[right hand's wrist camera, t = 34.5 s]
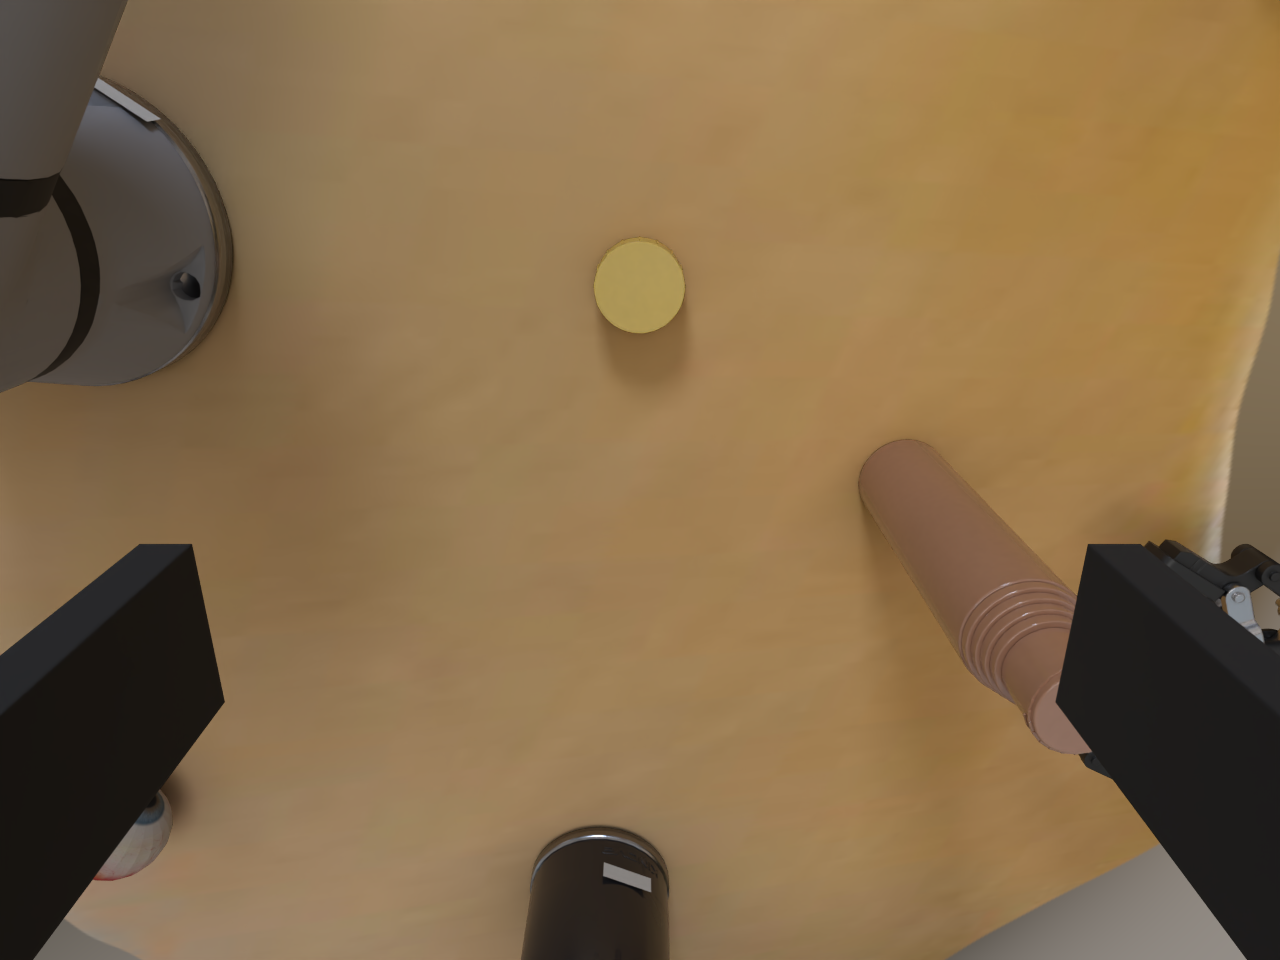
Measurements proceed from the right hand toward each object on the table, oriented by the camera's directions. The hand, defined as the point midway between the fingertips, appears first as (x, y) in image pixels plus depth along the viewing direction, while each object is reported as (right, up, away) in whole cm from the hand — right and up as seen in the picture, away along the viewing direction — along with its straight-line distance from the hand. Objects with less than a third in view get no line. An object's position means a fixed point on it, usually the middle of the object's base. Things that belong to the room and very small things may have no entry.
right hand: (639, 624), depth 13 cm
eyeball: (-32, -18, +44) cm, 58 cm away
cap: (0, +12, +30) cm, 33 cm away
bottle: (+15, +2, +36) cm, 39 cm away
